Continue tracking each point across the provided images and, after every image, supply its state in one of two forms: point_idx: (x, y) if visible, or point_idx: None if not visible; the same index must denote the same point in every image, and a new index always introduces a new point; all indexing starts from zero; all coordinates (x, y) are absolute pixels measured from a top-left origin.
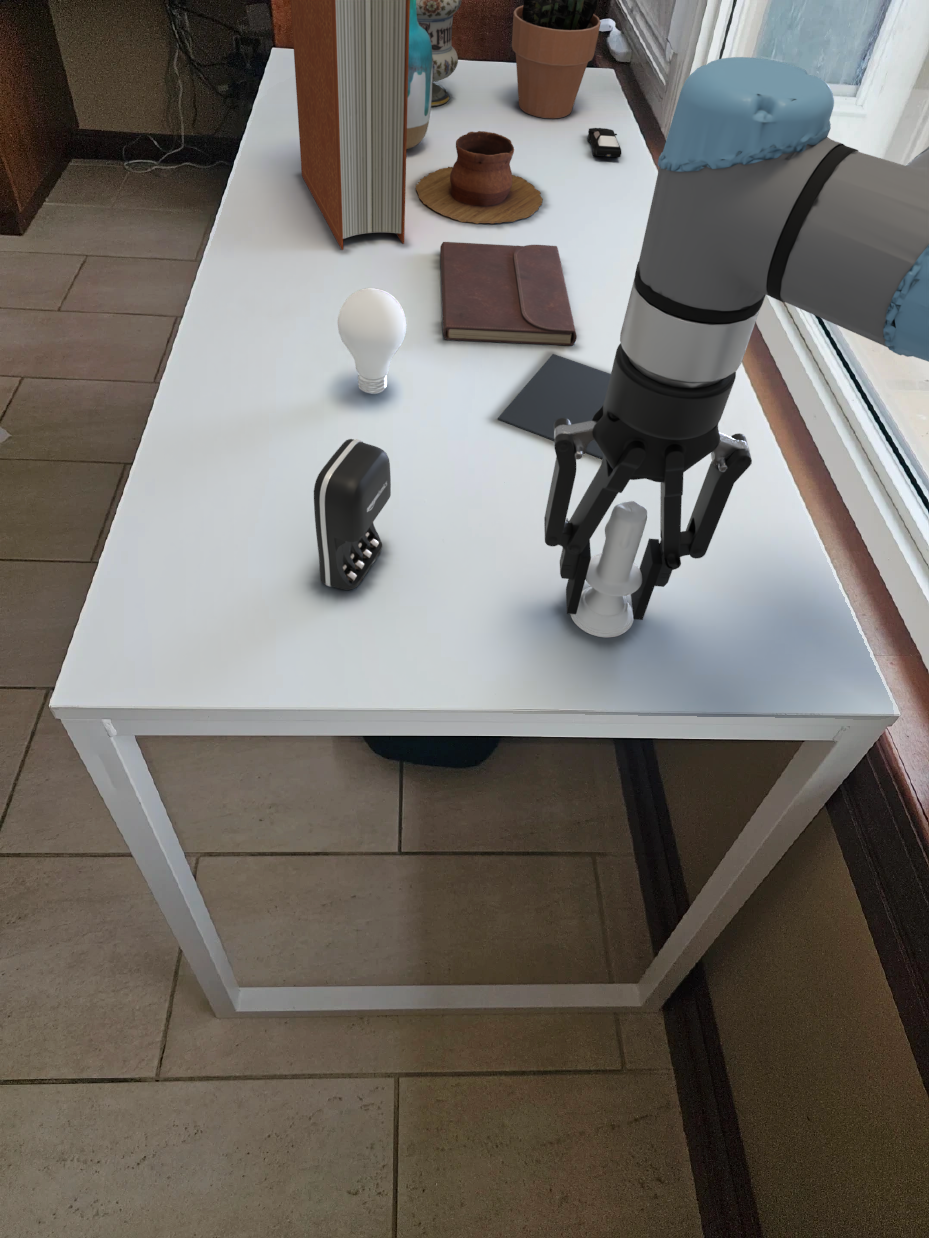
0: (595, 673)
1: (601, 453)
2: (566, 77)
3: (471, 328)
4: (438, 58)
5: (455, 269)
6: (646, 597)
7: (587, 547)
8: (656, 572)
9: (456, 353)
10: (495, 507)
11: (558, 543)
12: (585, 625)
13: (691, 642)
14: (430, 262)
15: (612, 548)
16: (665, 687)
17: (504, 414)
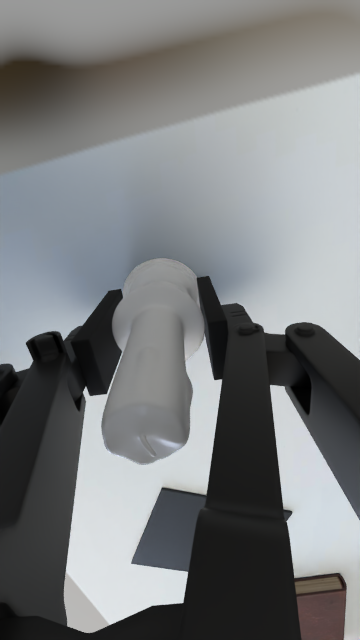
0: (157, 193)
1: (187, 497)
2: None
3: (322, 593)
4: None
5: (333, 635)
6: (102, 305)
7: (216, 347)
8: (83, 331)
9: (329, 563)
10: (294, 415)
11: (288, 329)
12: (180, 269)
13: (46, 280)
14: (347, 629)
15: (170, 347)
16: (61, 193)
17: (285, 517)
